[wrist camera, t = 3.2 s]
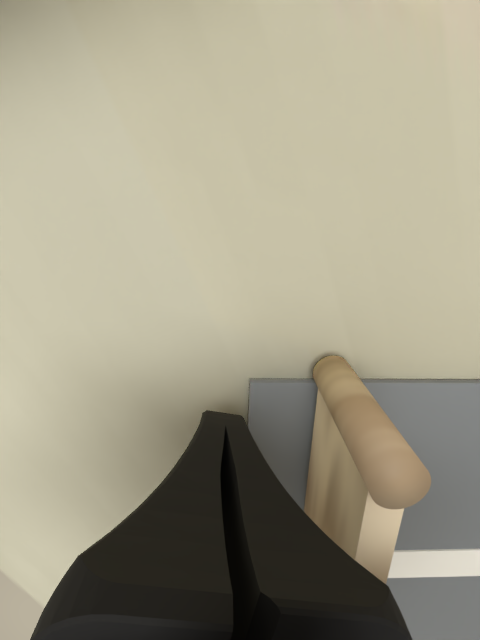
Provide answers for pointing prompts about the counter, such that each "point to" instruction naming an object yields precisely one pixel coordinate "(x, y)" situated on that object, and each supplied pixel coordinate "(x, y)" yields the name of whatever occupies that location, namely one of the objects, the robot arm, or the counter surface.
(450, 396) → the mat
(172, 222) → the counter surface
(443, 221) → the counter surface
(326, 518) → the fence panel
